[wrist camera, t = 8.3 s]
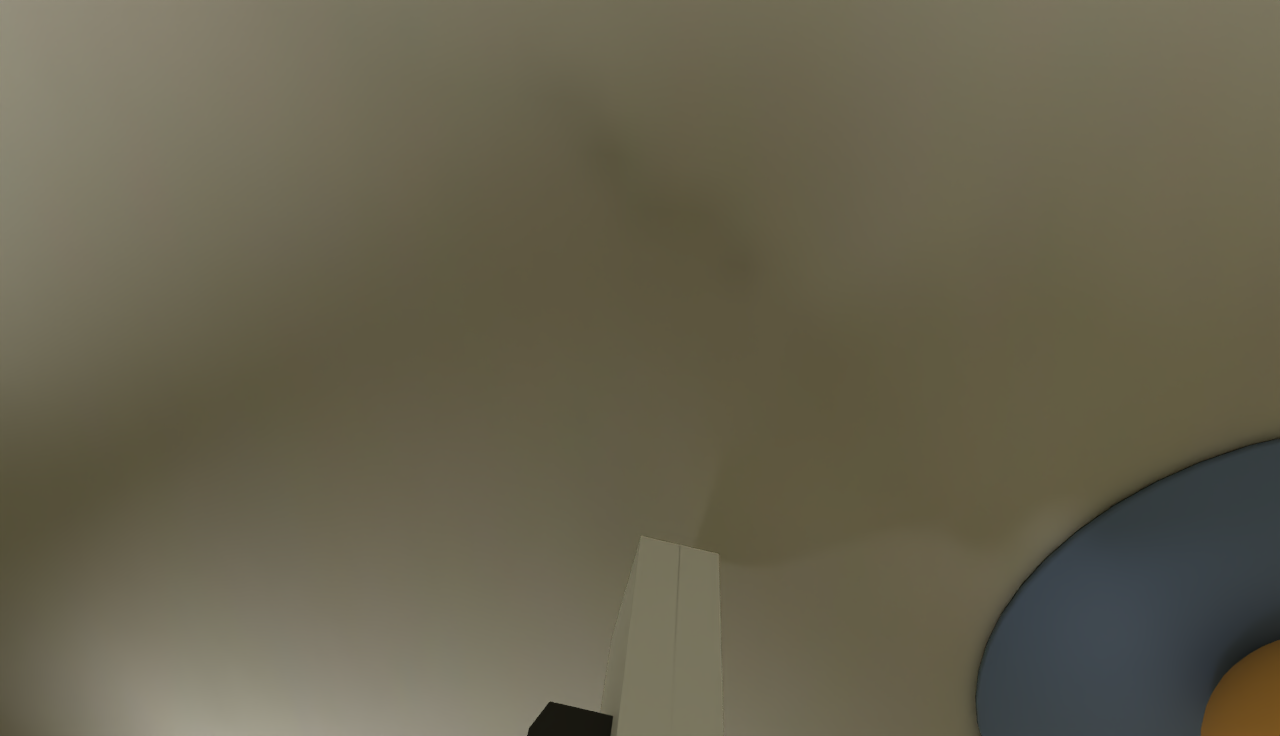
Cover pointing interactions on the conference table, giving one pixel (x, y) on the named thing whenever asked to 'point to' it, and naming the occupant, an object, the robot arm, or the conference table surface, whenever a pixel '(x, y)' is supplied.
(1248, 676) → the ball
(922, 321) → the conference table surface
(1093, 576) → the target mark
